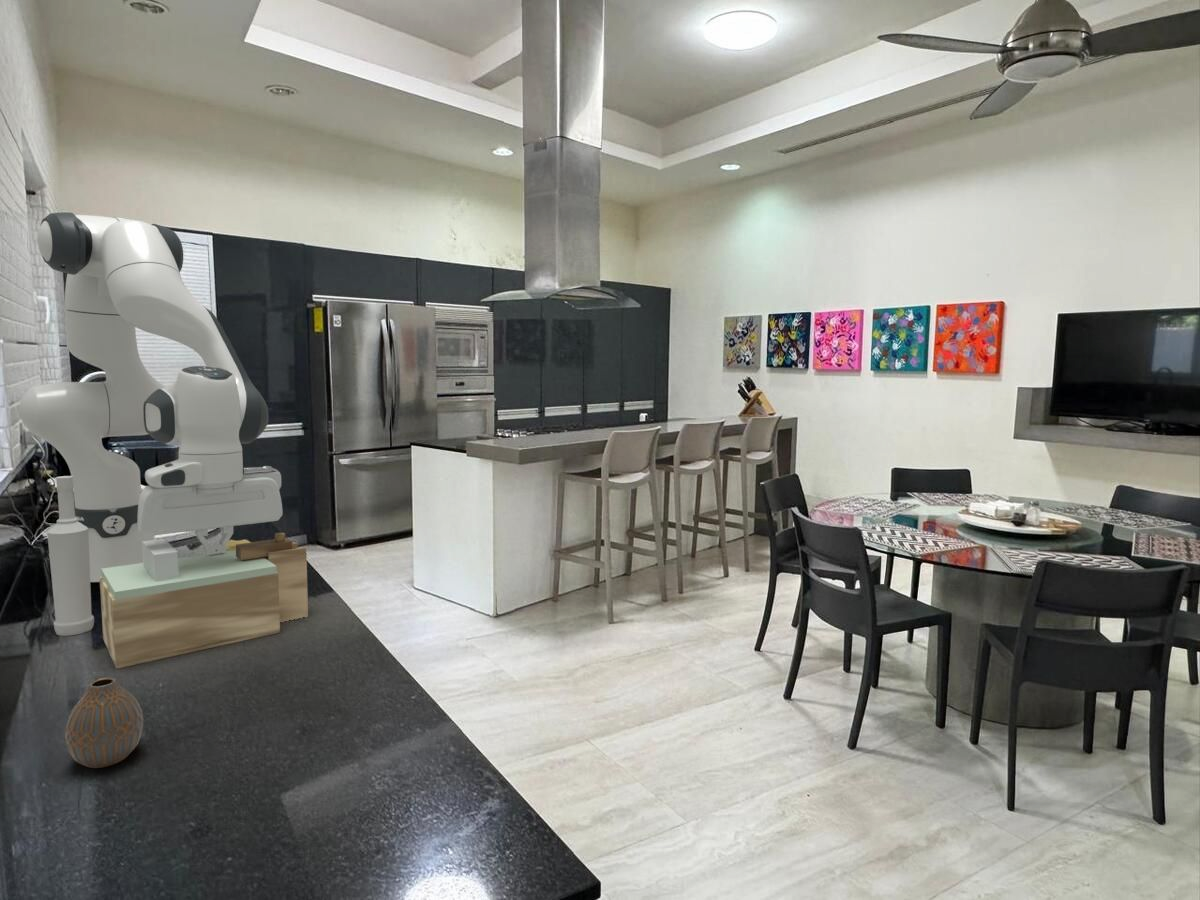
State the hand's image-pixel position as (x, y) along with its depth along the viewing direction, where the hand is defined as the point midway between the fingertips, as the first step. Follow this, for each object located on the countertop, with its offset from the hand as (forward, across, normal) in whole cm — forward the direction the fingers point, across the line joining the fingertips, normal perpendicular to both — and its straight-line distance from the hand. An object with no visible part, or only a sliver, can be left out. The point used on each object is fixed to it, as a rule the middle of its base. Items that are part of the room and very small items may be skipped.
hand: (215, 554), depth 111 cm
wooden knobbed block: (+1, -7, 0) cm, 8 cm away
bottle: (+13, +18, -14) cm, 26 cm away
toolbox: (+13, +1, 0) cm, 13 cm away
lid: (+3, +4, 0) cm, 5 cm away
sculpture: (+13, -6, -17) cm, 22 cm away
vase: (+13, +18, +33) cm, 40 cm away
